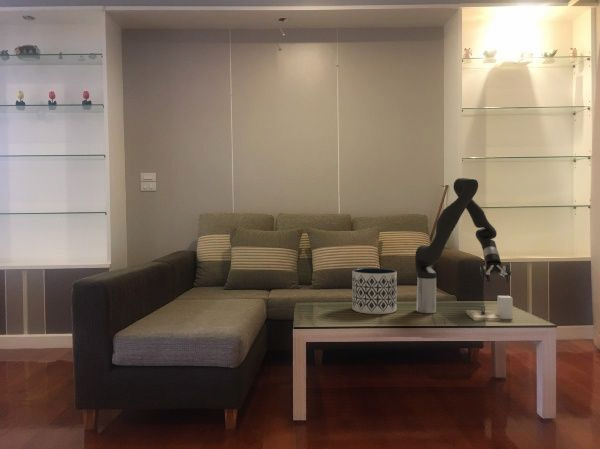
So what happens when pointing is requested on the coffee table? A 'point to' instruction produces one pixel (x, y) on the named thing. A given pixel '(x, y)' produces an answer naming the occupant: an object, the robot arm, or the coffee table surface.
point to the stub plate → (483, 315)
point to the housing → (504, 307)
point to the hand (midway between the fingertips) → (497, 282)
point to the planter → (374, 290)
